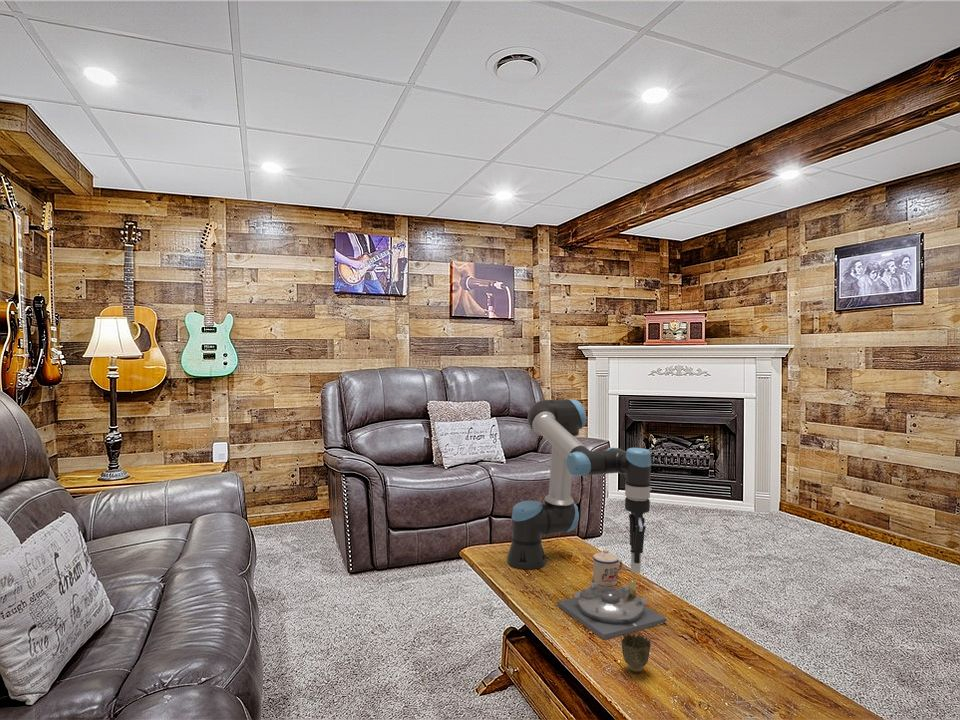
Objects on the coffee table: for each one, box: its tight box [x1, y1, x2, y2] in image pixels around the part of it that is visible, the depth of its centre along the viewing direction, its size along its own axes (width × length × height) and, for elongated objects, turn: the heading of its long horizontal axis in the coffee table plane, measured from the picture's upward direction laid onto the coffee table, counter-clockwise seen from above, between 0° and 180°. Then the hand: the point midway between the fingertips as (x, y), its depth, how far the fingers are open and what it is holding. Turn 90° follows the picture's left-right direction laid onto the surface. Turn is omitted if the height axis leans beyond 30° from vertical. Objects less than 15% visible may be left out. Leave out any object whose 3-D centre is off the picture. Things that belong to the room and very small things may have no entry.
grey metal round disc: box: [574, 578, 648, 624], centre depth 179 cm, size 20×22×8 cm
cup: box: [620, 633, 651, 674], centre depth 148 cm, size 8×7×8 cm
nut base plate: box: [556, 596, 667, 641], centre depth 179 cm, size 24×24×2 cm
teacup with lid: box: [592, 548, 624, 587], centre depth 205 cm, size 12×9×12 cm
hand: (635, 571), depth 179 cm, fingers closed
